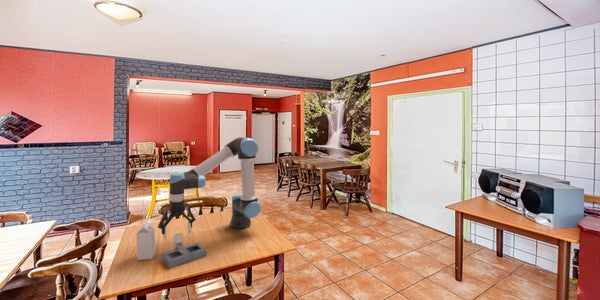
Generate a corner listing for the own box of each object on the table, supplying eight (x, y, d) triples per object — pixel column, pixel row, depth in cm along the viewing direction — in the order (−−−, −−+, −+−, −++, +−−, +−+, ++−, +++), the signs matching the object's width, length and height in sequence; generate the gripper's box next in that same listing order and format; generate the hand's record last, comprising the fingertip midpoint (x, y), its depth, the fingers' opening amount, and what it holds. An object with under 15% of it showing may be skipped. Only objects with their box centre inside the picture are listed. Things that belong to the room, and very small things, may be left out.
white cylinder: (181, 247, 158) (180, 232, 157) (183, 249, 155) (183, 234, 154) (173, 249, 155) (172, 234, 154) (176, 252, 152) (175, 237, 151)
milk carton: (137, 260, 142) (135, 226, 140) (141, 254, 148) (139, 221, 147) (152, 259, 144) (150, 225, 142) (155, 253, 150) (154, 220, 149)
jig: (198, 248, 157) (197, 242, 157) (207, 255, 148) (206, 249, 148) (161, 259, 143) (161, 253, 143) (169, 268, 134) (169, 261, 134)
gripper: (195, 195, 164) (196, 229, 165) (151, 202, 146) (151, 239, 148) (201, 198, 158) (201, 232, 160) (155, 205, 141) (156, 244, 143)
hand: (177, 236), depth 154 cm, fingers open, 13 cm apart
